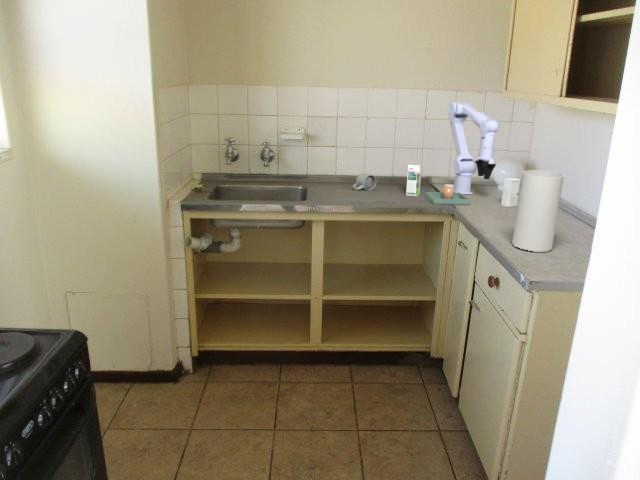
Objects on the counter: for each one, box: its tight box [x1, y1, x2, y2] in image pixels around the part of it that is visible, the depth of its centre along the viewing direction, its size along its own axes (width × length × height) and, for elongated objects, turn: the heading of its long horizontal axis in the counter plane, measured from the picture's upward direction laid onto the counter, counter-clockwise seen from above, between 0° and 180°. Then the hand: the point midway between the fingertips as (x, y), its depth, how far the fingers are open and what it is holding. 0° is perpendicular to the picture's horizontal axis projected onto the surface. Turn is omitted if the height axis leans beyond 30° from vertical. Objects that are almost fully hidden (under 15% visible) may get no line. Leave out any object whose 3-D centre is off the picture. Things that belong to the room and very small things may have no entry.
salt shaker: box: [442, 183, 455, 199], centre depth 236 cm, size 5×5×7 cm
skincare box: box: [500, 177, 521, 208], centre depth 231 cm, size 6×4×12 cm
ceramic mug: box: [352, 173, 377, 191], centre depth 257 cm, size 11×8×8 cm
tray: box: [425, 191, 471, 206], centre depth 237 cm, size 14×16×2 cm
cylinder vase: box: [511, 169, 565, 253], centre depth 173 cm, size 12×12×25 cm
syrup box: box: [405, 163, 423, 197], centre depth 246 cm, size 6×6×14 cm
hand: (483, 177), depth 239 cm, fingers open, 7 cm apart
